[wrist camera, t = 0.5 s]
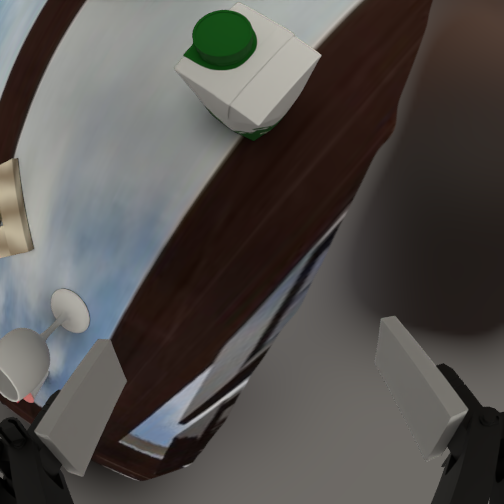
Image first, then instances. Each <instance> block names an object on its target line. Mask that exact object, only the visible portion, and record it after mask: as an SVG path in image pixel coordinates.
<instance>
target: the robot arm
mask: <svg viewBox="0 0 504 504" xmlns="http://www.w3.org/2000/svg"><path fill="white" fill-rule="evenodd" d="M375 365H376V367H377V369H378V371H379V372H380V374H381V376H382V378H383V379H384V382H385V383H386V385H387V387H388V389H389V391H390V393H391V394H392V396H393V398H394V400H395V402H396V404H397V405H398V408H399V410H400V411H401V414H402V415H403V417H404V419H405V421H406V423H407V425H408V427H409V429H410V431H411V433H412V435H413V437H414V439H415V441H416V443H417V445H418V447H419V449H420V451H421V453H422V455H423V457H424V459H425V461H429V460H431V459H433V458H436V457H438V456H440V455H442V454H443V452H444V451H445V449H446V447H448V448H449V450H450V454H449V455H448V457H447V458H446V460H445V461H444V463H443V464H442V467H444V466H445V468H444V471H443V474H442V477H441V480H440V482H439V485H438V488H437V490H436V493H435V495H434V498H433V500H432V503H431V504H488V501H489V504H504V412H501V413H499V412H498V411H497V410H496V409H495V408H491V407H483V406H482V405H481V404H480V403H479V402H478V400H477V399H476V398H475V396H474V395H473V394H472V392H471V391H470V390H469V389H468V387H467V386H466V385H464V382H463V381H462V380H461V379H460V378H459V376H458V375H457V374H456V372H455V371H454V370H453V369H452V368H450V367H449V366H447V365H445V364H444V363H443V364H440V365H437V366H435V364H434V363H433V362H432V360H431V359H430V358H429V357H428V355H427V354H426V353H425V352H424V351H423V349H422V348H421V347H420V345H419V344H418V343H417V342H416V340H415V339H414V338H413V337H412V336H411V334H410V333H409V332H408V331H407V330H406V328H405V327H404V326H403V325H402V324H401V323H400V321H399V320H398V319H397V318H396V317H395V316H391V317H386V318H381V322H380V330H379V337H378V344H377V351H376V357H375ZM126 381H127V380H126V378H125V376H124V373H123V371H122V369H121V366H120V364H119V361H118V359H117V356H116V354H115V351H114V349H113V346H112V343H111V340H108V339H98V340H97V341H96V342H95V344H94V345H93V346H92V348H91V349H90V350H89V352H88V353H87V355H86V356H85V357H84V359H83V360H82V361H81V363H80V364H79V366H78V367H77V368H76V370H75V371H74V373H73V374H72V375H71V377H70V378H69V380H68V381H67V382H66V384H65V385H64V387H63V388H62V390H57V391H56V392H55V393H54V394H52V395H51V396H50V397H49V399H48V400H47V402H46V403H45V405H44V406H43V408H42V409H41V411H40V412H39V414H38V415H37V417H36V418H35V420H34V421H33V423H32V424H31V426H30V427H29V429H28V430H26V429H25V428H24V426H23V425H22V424H21V422H20V421H19V420H18V419H17V418H14V417H10V418H6V419H4V420H3V421H2V422H1V423H0V437H1V438H2V439H0V472H1V473H3V474H4V476H3V479H2V478H1V477H0V504H74V503H73V500H72V498H71V495H70V492H69V490H68V487H67V484H66V482H65V478H64V475H63V473H62V472H61V470H60V467H61V466H62V465H63V466H64V467H65V468H66V469H67V471H68V472H70V473H73V474H76V475H79V476H83V475H84V473H85V471H86V468H87V466H88V464H89V461H90V459H91V457H92V454H93V452H94V450H95V447H96V445H97V443H98V441H99V439H100V436H101V434H102V432H103V430H104V428H105V425H106V423H107V421H108V419H109V417H110V415H111V412H112V410H113V408H114V406H115V404H116V402H117V400H118V398H119V396H120V394H121V392H122V390H123V387H124V385H125V383H126ZM445 464H446V465H445ZM489 497H490V500H489Z"/></svg>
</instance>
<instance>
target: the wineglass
mask: <svg viewBox="0 0 504 504" xmlns="http://www.w3.org/2000/svg"><path fill="white" fill-rule="evenodd" d="M51 308H52V312H53V314H54V316H55V318H56V321H55V322H54V323H53V324H52V325H51V326H50V327H49V328H48V329H47V330H46V331H44V332H43V333H42V334H38V333H37V332H35V331H33V330H31V329H27V328H17V329H14V330H12V331H10V332H9V333H8V334H6V335H5V336H4V337H3V338H2V339H1V340H0V393H1V394H2V395H3V396H4V397H6V398H7V399H9V400H11V401H13V402H18V401H20V400H21V399H23V398H24V397H25V396H27V395H28V394H29V393H31V392H32V391H33V390H34V389H35V388H36V387H37V386H38V385H39V384H40V382H41V381H42V380H43V378H44V377H45V375H46V374H47V372H48V369H49V366H50V353H49V349H48V346H47V344H46V340H47V338H48V337H49V336H50V334H51V333H52V332H53V331H54V330H55V329H56V328H57V327H58V326H60V325H61V326H63V327H64V328H65V329H67V330H68V331H71V332H74V333H81V332H84V331H85V330H86V329H87V328H88V326H89V322H90V317H89V312H88V309H87V307H86V305H85V304H84V302H83V301H82V299H81V298H80V297H79V296H78V295H77V294H75V293H74V292H72V291H70V290H67V289H59V290H57V291H55V292H54V293H53V295H52V298H51Z"/></svg>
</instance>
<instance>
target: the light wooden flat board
mask: <svg viewBox="0 0 504 504" xmlns="http://www.w3.org/2000/svg"><path fill="white" fill-rule="evenodd" d="M0 211H1V217H2V222H3V226H1V227H0V258H2V257H7V256H11V255H16V254H20V253H25V252H29V251H31V250H33V249H34V248H33V244H32V240H31V235H30V231H29V227H28V222H27V217H26V212H25V207H24V201H23V195H22V189H21V182H20V175H19V166H18V158H17V159H11V160H9V161H7V162H5V163H3V164H1V165H0Z"/></svg>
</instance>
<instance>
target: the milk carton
mask: <svg viewBox="0 0 504 504" xmlns="http://www.w3.org/2000/svg"><path fill="white" fill-rule="evenodd" d="M192 38H193V44H192V46H191V47H190V48H189V49H188V50H187V51H186V52H185V54H184V55H183V56H184V57H183V58H182V59H181V60H180V61H179V62H178V64H177V65H176V66H175V67H174V70H175V71H176V72H177V73H178V74H179V75H180V76H181V77H182V79H183V80H184V81H185V82H186V83H187V84H188V86H189V87H190V88H191V89H192V90H193V91H194V93H195V94H196V95H197V96H198V98H199V99H200V100H201V102H202V103H203V104H204V106H205V107H206V108H207V109H208V111H209V112H210V113H211V114H212V115H213V116H214V117H215V118H216V119H218V120H219V121H220V122H221V123H223V124H224V125H225V126H227V127H228V128H229V129H231V130H232V131H234V132H236V133H238V134H240V135H242V136H244V137H246V138H249V139H251V140H253V141H255V140H256V139H258V138H259V137H261V136H262V135H264V134H265V133H267V132H268V131H270V130H271V129H273V128H274V127H275V126H276V125H277V124H278V123H279V122H280V120H281V119H282V118H283V117H284V116H285V114H286V113H287V112H288V110H289V109H290V107H291V106H292V105H293V103H294V102H295V100H296V99H297V98H298V96H299V95H300V93H301V92H302V90H303V88H304V86H305V84H306V82H307V80H308V79H309V77H310V75H311V73H312V71H313V69H314V67H315V66H316V64H317V62H318V60H319V59H320V57H321V54H319V53H318V52H317V51H315V50H314V49H313V48H311V47H310V46H309V45H307V44H306V43H304V42H303V41H301V40H300V39H298V38H297V37H296V36H295V34H294V33H293V32H291V31H290V30H288V29H286V28H285V27H283V26H281V25H279V24H277V23H276V22H274V21H272V20H271V19H269V18H267V17H266V16H264V15H262V14H260V13H258V12H257V11H255V10H253V9H251V8H249V7H247V6H245V5H243V4H242V3H240V2H238V3H236V4H235V5H234V6H233V7H232V8H231V9H230V10H219V11H214V12H211V13H209V14H207V15H205V16H204V17H202V18H201V19H200V20H199V21H198V22H197V23H196V25H195V27H194V29H193V33H192Z"/></svg>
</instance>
